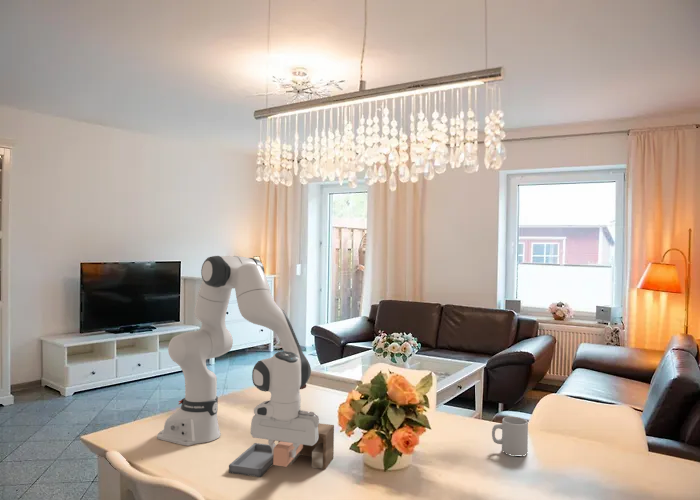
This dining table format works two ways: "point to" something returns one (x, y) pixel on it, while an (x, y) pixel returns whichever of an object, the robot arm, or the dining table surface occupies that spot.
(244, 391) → the dining table surface
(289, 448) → the block
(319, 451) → the shelf
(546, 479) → the dining table surface
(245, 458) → the tray
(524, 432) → the mug
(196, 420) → the robot arm
